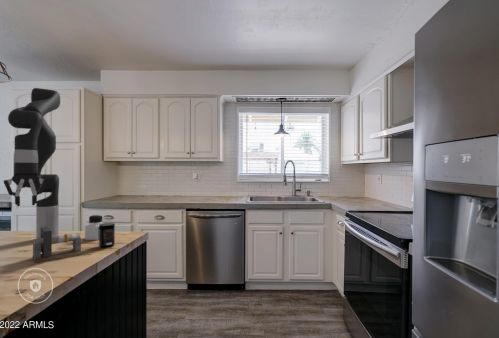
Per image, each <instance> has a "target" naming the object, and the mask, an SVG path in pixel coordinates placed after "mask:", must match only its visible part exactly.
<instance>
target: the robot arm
mask: <svg viewBox="0 0 499 338" xmlns="http://www.w3.org/2000/svg"><path fill="white" fill-rule="evenodd" d="M30 99H31V100H30V101H31V102H29V103H27V104H26V105H25V106H21V107H17V108H14V109H12V110H11V111H10V112H9V114H8V116H7V121H8V123H9V124H10V126H11V127H14V128H15V129H25V130H29V131H28V132H27V133H22V134H17V135H15V136H14V152H13V174H12V175H13V176H12V177H11V178H9V179H4V180H3V184H4V187H5V189H6V190H7V193H8V195H9V196H13V197H14V204H15V206H17V207H21V196H20V194H21V191H22V190H23V189H24V188H28V189H29V188H30V191H31V193H32V195H31V205H32V206H35V205H36V207H35V208H36V210H35V211H36V219H35V221H36V224H35V226H36V228H35V230H36V231H35V236H36V237H35V239H39V238H41V227H49V228H50V230H51V231H52V237H54V236H59V192H60V190H59V189H60V177H59V175H58V174H54V173H53V174H51V173H50V174H46V173H45V174H42V170H43V168H44V166H45V165H46V163H47V162H48V160H49V159H50V158H51V157H52V156H53V154H54V153H55V152H56V149H57V148H56V147H57V142H56V141H57V138H56V134H55V132H54V130H53V129H52V128H51V127H50V125H49V124H48V122H47V121H46V119H45V117H44V116H46V115H47V114H49V113H51V112H53V111H56V110H57V109H59V107H60V106H61V96H60V93H59V91H57V90H54V89H48V88H39V87H33V89H32V90H31V93H30ZM12 182H14V184H15V185H16V186H17V187H16V188H15V189H16V190H15V191H13V189H12V188H11V186H10V185H12ZM44 193H50V195H48V196H47V197H44V198H41V199H38V195H42V194H44Z"/></svg>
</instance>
